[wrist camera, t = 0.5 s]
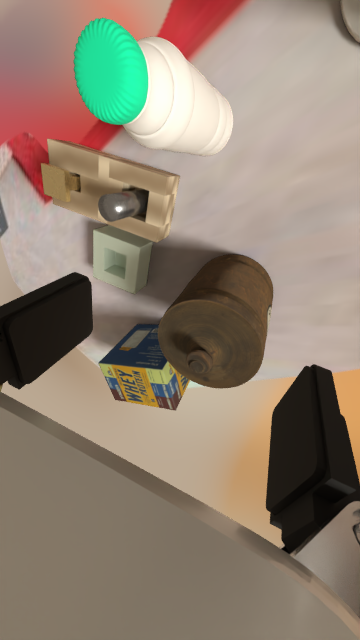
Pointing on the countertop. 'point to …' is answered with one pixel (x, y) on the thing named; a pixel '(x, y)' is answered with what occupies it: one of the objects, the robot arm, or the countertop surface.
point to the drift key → (59, 182)
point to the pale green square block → (121, 258)
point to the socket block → (116, 187)
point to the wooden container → (219, 323)
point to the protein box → (143, 371)
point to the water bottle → (150, 91)
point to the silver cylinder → (123, 204)
